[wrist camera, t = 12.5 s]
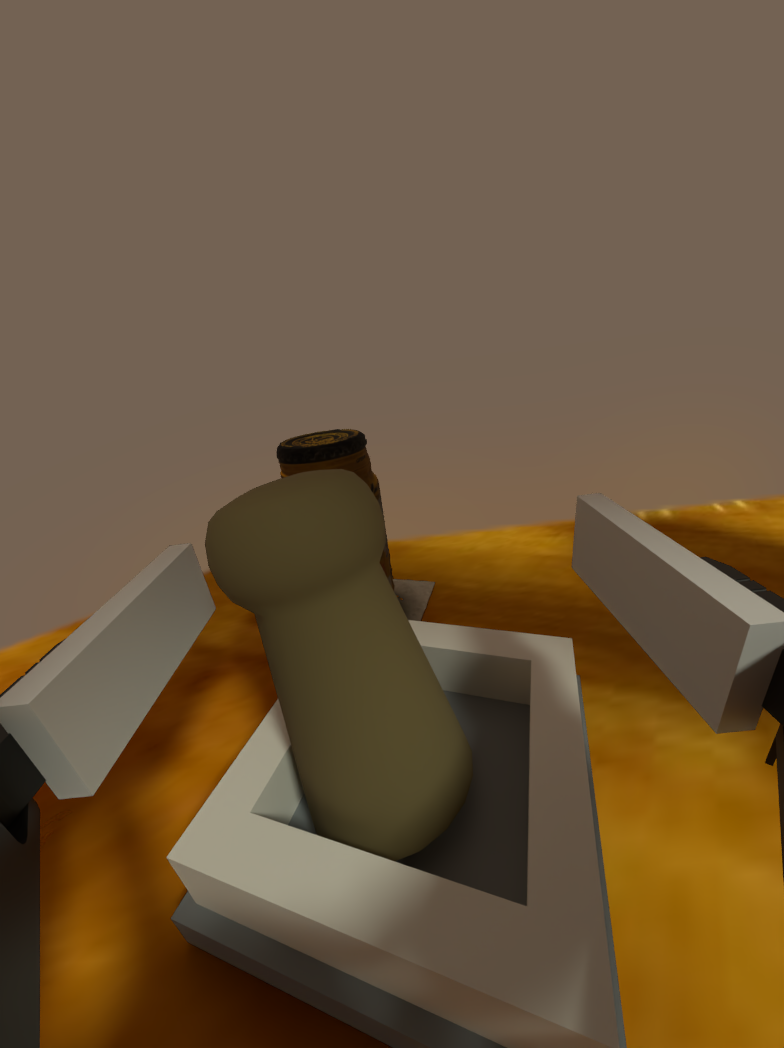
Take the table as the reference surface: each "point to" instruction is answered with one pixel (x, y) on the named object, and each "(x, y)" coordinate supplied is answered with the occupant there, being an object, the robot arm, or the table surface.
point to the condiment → (352, 456)
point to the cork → (344, 661)
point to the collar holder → (428, 874)
